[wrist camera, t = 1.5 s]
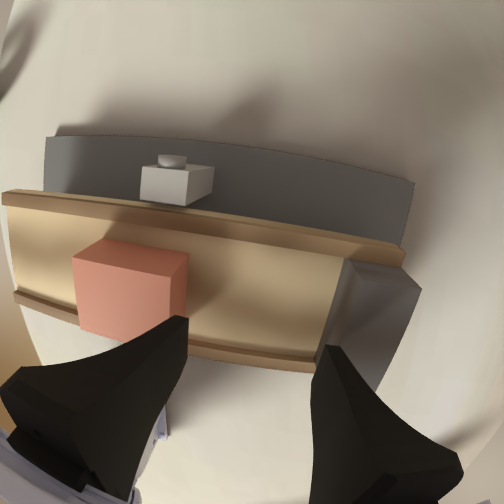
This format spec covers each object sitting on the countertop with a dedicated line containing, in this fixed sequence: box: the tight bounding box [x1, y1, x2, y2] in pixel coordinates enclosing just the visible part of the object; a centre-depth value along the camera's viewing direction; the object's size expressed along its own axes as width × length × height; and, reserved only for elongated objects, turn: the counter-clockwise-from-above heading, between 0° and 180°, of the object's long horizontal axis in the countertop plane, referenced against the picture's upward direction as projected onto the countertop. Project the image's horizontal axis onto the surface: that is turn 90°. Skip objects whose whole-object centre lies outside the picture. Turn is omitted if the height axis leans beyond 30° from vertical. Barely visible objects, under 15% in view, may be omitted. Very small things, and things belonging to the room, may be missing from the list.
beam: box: [2, 189, 422, 392], centre depth 14 cm, size 8×24×4 cm, turn 82°
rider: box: [72, 238, 189, 343], centre depth 14 cm, size 4×5×3 cm
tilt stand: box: [44, 136, 415, 247], centre depth 18 cm, size 15×27×6 cm, turn 82°
